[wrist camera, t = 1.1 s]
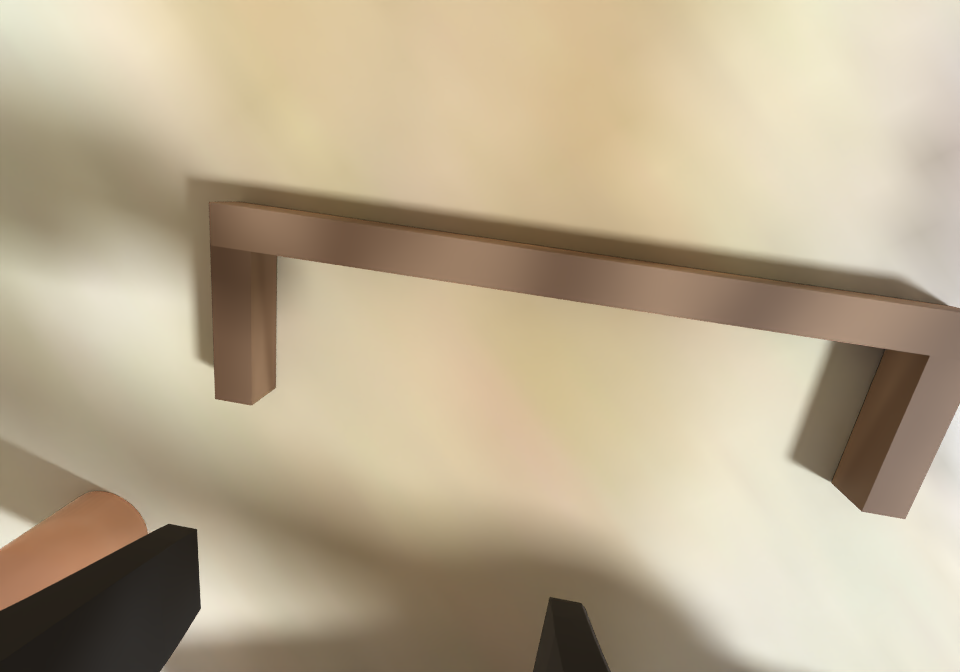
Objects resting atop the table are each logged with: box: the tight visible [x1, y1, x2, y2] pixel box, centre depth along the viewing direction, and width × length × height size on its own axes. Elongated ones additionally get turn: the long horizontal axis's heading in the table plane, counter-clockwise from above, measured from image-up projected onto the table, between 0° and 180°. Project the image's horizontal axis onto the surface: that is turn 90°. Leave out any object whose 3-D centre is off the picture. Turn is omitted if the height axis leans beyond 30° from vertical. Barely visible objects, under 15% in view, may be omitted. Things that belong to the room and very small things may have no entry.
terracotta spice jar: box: [0, 491, 148, 611], centre depth 20 cm, size 4×4×6 cm
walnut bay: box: [209, 202, 960, 519], centre depth 17 cm, size 26×8×2 cm, turn 83°
